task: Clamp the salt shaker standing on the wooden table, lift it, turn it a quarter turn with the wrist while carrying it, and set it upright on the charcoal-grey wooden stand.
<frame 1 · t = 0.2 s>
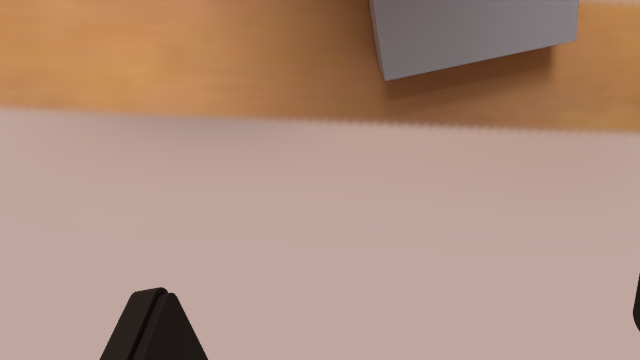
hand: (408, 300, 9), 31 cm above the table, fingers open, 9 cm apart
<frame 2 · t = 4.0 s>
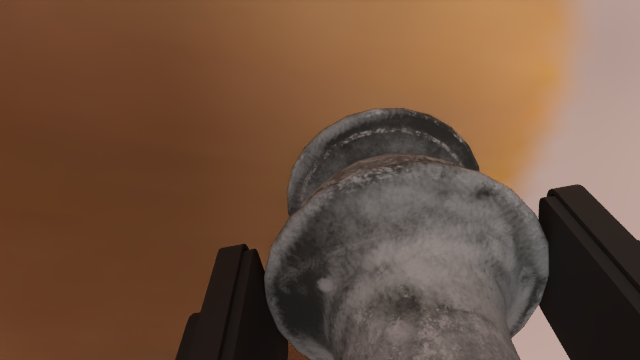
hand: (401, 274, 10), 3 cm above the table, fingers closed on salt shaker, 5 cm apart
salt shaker: (382, 194, 13), on the table, touching gripper
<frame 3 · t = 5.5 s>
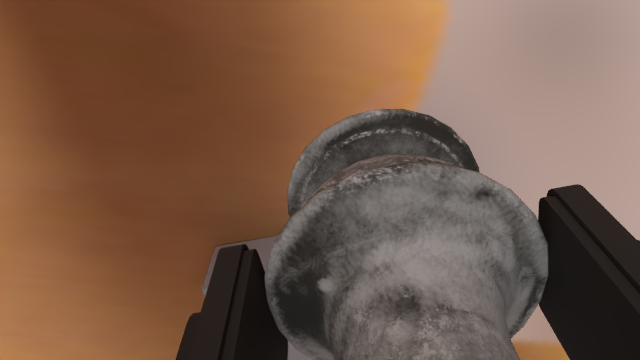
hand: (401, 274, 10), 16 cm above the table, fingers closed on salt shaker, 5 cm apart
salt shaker: (382, 195, 13), point 13 cm above the table, touching gripper
stand: (341, 308, 32), on the table
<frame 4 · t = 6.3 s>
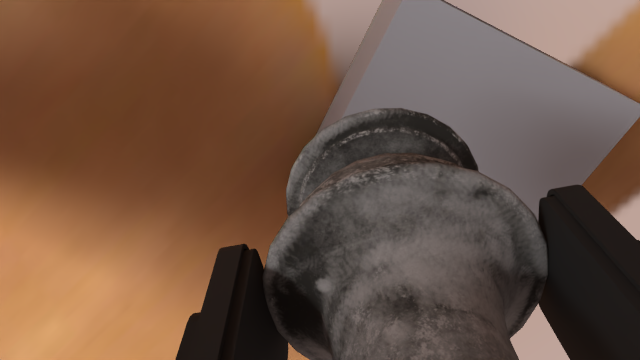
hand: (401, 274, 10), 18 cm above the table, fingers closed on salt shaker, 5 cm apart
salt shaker: (381, 194, 13), point 15 cm above the table, touching gripper
stand: (437, 138, 28), on the table
when the fingers open (8 cm above the table, at t = 9.0 s): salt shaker drops 1 cm, resting on stand.
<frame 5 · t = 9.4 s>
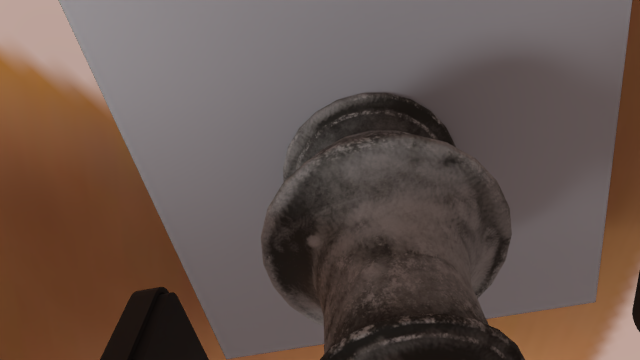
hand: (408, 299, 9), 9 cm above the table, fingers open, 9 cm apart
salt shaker: (369, 173, 14), point 4 cm above the table, touching stand
stand: (364, 122, 17), on the table
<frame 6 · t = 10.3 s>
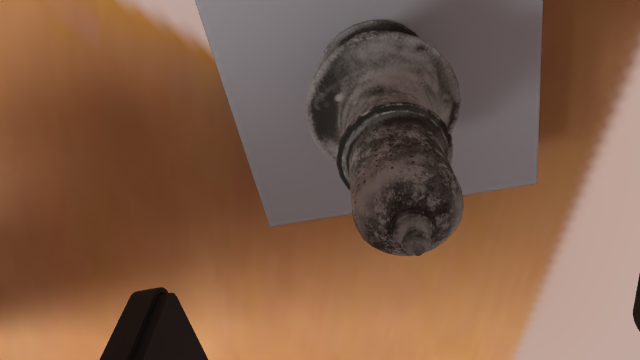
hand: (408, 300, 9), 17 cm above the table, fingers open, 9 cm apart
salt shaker: (374, 79, 21), point 4 cm above the table, touching stand
stand: (372, 54, 24), on the table
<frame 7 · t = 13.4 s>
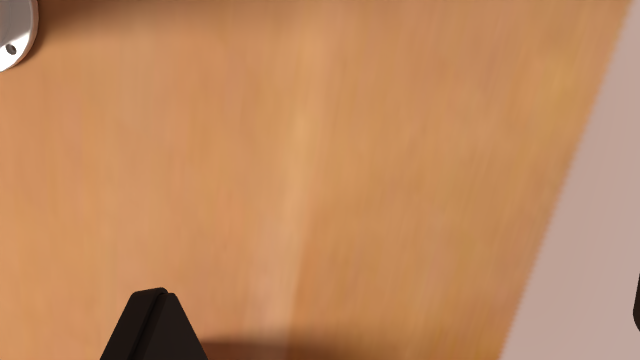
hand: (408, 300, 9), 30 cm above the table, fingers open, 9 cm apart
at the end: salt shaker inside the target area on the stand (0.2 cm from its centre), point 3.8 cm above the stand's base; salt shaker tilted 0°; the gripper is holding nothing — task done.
